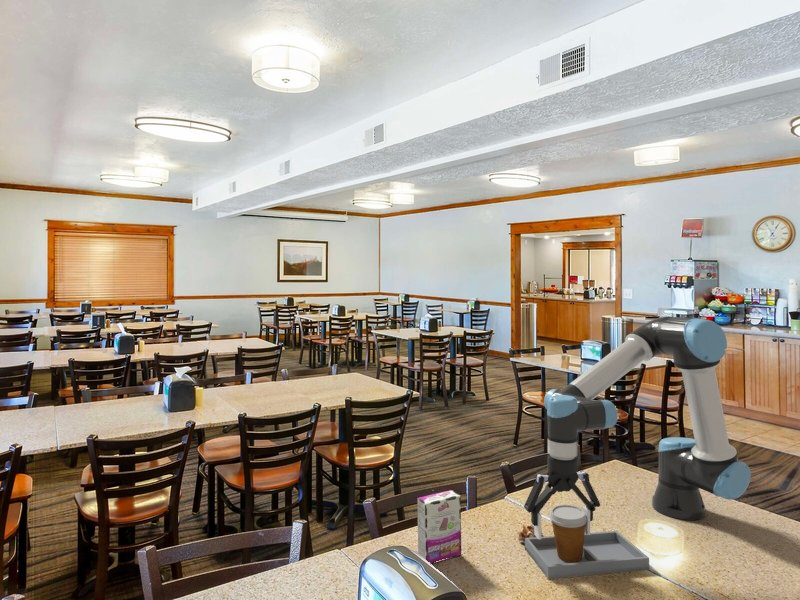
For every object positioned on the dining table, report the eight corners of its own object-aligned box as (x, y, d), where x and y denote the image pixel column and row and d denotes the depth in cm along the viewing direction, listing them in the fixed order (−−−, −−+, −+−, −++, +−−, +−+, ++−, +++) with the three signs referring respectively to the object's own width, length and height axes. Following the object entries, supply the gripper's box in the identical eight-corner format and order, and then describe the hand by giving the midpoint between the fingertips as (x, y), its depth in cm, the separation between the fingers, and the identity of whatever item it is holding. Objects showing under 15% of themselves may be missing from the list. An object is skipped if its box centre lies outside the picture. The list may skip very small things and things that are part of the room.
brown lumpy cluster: (540, 528, 154) (540, 517, 154) (545, 548, 142) (545, 536, 142) (516, 527, 155) (516, 515, 155) (520, 547, 143) (520, 534, 143)
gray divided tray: (616, 541, 145) (616, 530, 145) (648, 569, 131) (649, 557, 131) (524, 548, 141) (524, 538, 141) (548, 578, 127) (548, 566, 127)
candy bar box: (451, 547, 142) (451, 489, 142) (461, 555, 138) (462, 495, 137) (416, 557, 137) (416, 496, 136) (426, 566, 132) (426, 503, 132)
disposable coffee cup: (591, 567, 130) (589, 521, 129) (552, 565, 132) (550, 519, 131) (586, 547, 139) (584, 504, 139) (550, 546, 141) (547, 503, 141)
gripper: (598, 448, 140) (598, 524, 140) (511, 453, 136) (511, 531, 137) (614, 457, 132) (613, 537, 133) (522, 463, 129) (522, 546, 129)
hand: (562, 534), depth 135 cm, fingers open, 13 cm apart
